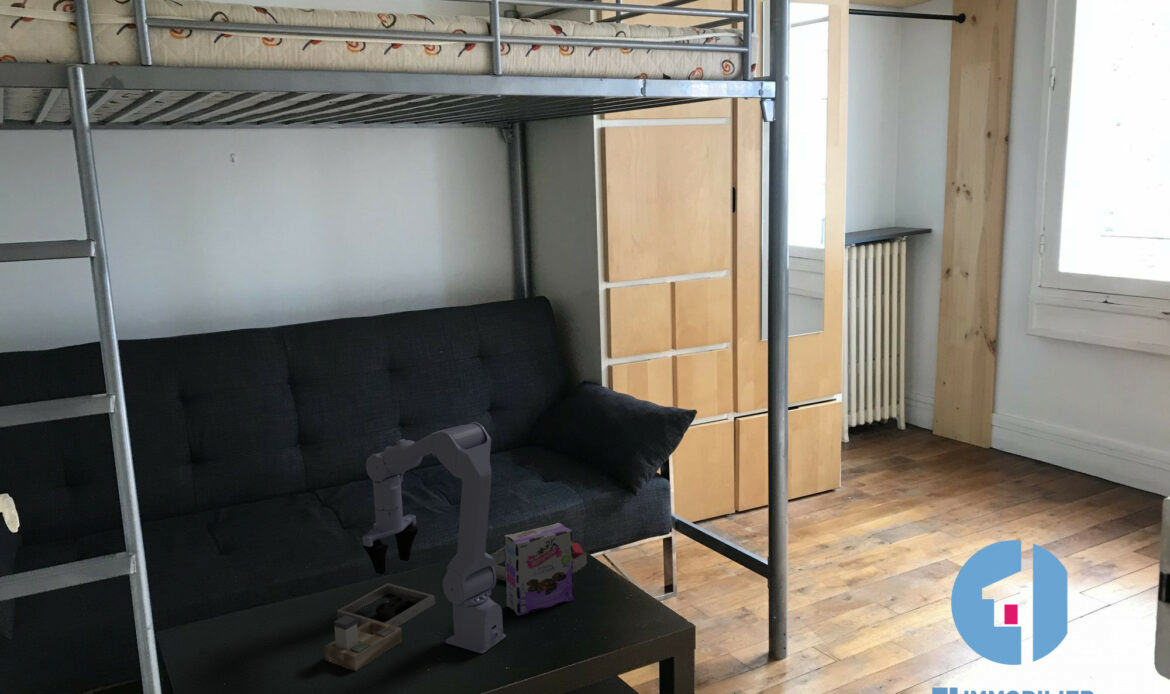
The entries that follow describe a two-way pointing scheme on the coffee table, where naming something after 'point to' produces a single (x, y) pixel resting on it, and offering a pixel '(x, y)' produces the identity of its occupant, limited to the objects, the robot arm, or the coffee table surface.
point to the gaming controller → (393, 607)
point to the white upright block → (346, 632)
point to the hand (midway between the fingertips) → (392, 566)
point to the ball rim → (501, 572)
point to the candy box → (538, 568)
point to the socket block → (365, 645)
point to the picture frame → (398, 620)
